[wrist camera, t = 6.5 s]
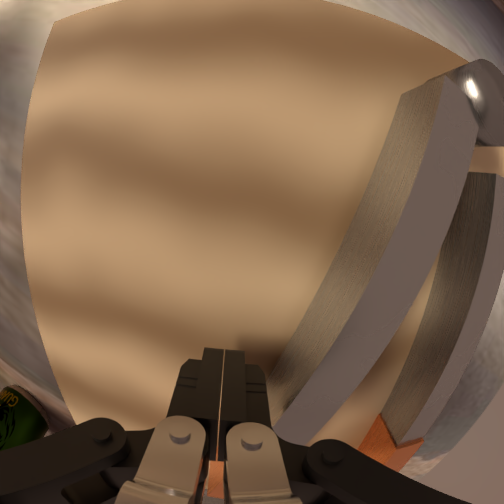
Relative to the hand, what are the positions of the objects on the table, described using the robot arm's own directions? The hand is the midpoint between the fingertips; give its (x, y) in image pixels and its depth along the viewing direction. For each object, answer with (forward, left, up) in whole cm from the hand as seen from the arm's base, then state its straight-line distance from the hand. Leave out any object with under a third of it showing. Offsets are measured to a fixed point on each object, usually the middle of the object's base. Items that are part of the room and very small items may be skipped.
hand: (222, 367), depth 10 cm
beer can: (+12, -18, -3) cm, 21 cm away
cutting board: (0, +2, -3) cm, 3 cm away
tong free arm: (-2, +5, -1) cm, 5 cm away
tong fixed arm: (+1, +10, -1) cm, 10 cm away
